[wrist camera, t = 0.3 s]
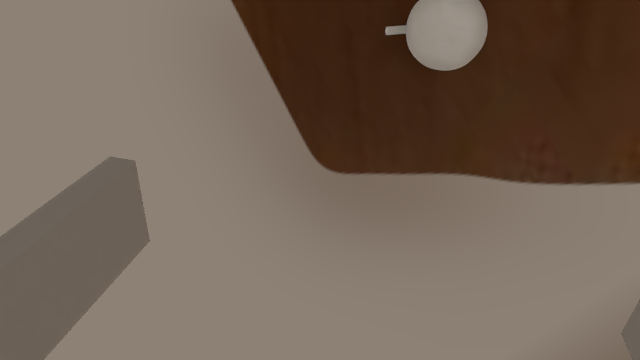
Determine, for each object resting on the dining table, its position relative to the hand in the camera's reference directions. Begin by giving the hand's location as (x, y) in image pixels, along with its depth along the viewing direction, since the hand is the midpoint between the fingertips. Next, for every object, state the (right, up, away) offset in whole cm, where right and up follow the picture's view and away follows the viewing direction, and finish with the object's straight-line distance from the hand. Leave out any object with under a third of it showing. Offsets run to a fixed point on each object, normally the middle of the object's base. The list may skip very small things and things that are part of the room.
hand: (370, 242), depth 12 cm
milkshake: (+8, +13, +22) cm, 27 cm away
